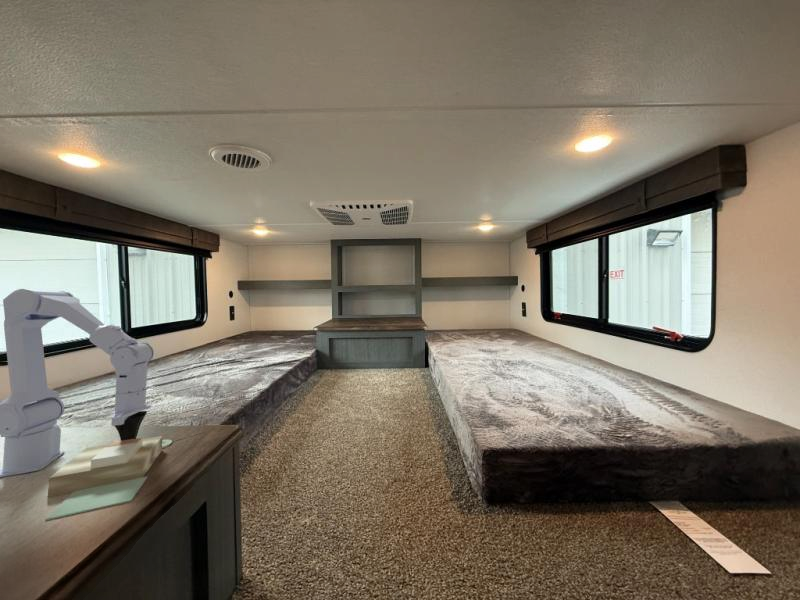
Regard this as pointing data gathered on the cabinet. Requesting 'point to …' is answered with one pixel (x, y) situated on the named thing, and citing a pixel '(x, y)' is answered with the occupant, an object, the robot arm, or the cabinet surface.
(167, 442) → the sign
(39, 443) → the robot arm
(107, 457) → the white striped box
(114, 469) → the cream piece
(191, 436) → the cabinet surface
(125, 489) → the mat
